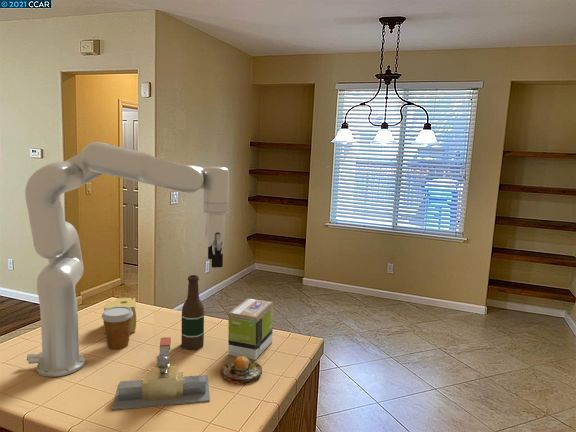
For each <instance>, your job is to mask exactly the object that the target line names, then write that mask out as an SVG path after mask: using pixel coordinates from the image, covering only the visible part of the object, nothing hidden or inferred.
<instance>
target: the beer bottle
mask: <svg viewBox="0 0 576 432" xmlns="http://www.w3.org/2000/svg"><path fill="white" fill-rule="evenodd" d="M199 280H200V279H199V275H196V274H191V275H188V277H187V281H188V286H187V297H186V300H185V301H184V303H183V305H182V310H181V347H182V348H183V349H185V350H187V351H192V350H193V351H194V350H199V349H200V348H201V349H202V348H203V347H204V340H205V337H204V336H205V332H204V331H205V308H204V305H203V302H202V300H201V299H200V295H199V294H200V293H199Z"/></svg>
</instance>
